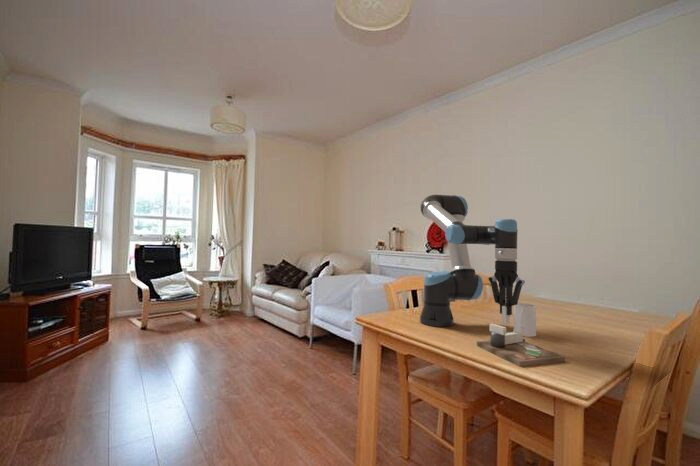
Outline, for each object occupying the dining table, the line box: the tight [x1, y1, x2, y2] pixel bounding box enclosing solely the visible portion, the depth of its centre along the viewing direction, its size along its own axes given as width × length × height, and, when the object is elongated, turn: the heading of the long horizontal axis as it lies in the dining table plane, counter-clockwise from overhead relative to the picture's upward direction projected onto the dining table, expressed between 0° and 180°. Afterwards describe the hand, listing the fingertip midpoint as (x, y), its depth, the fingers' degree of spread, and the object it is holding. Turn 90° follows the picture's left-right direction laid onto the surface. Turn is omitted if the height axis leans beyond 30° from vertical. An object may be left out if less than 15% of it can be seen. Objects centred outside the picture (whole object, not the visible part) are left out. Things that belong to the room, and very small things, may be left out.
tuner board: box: [476, 339, 566, 367], centre depth 110 cm, size 20×18×2 cm
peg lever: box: [488, 323, 526, 347], centre depth 116 cm, size 16×6×7 cm, turn 116°
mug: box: [512, 302, 537, 338], centre depth 133 cm, size 12×8×12 cm
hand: (505, 323), depth 121 cm, fingers closed
